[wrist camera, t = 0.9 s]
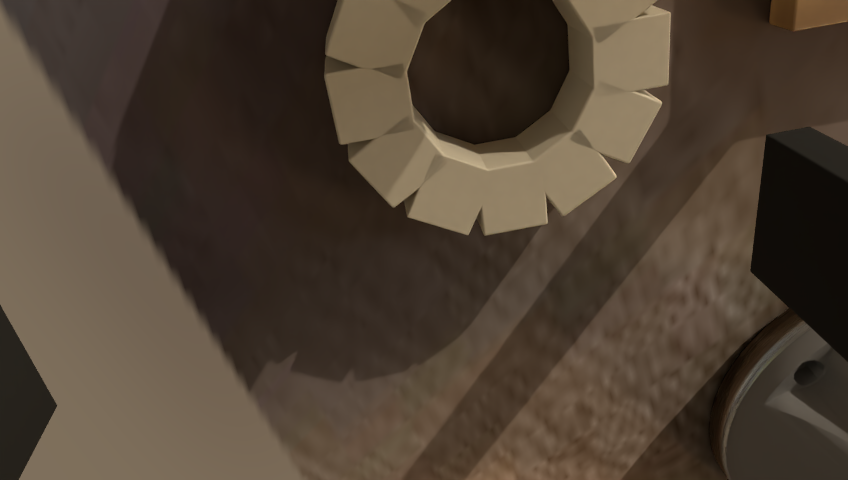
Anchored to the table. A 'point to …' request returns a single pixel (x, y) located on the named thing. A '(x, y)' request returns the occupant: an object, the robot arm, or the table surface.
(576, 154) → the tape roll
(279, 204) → the table surface
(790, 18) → the post stand
